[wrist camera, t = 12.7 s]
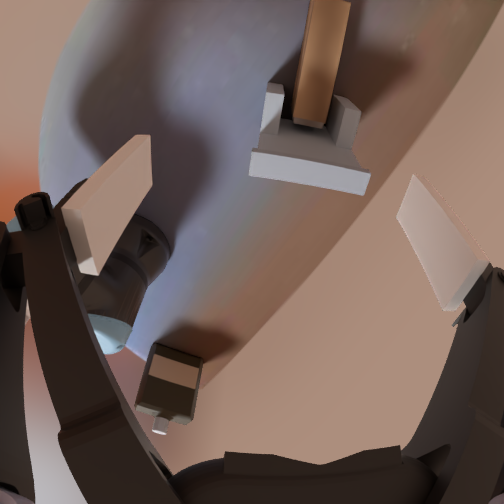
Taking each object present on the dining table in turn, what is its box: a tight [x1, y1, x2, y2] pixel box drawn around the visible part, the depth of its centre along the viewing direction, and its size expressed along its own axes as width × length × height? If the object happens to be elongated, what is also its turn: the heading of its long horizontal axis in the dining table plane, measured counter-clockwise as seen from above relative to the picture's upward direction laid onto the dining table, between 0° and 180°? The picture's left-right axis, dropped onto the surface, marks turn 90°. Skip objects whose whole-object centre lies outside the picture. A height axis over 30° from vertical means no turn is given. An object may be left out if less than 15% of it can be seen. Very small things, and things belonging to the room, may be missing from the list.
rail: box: [291, 0, 351, 129], centre depth 30 cm, size 4×17×6 cm, turn 173°
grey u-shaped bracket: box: [249, 82, 371, 196], centre depth 33 cm, size 12×7×15 cm, turn 83°
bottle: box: [134, 343, 203, 435], centre depth 75 cm, size 8×16×25 cm, turn 65°
